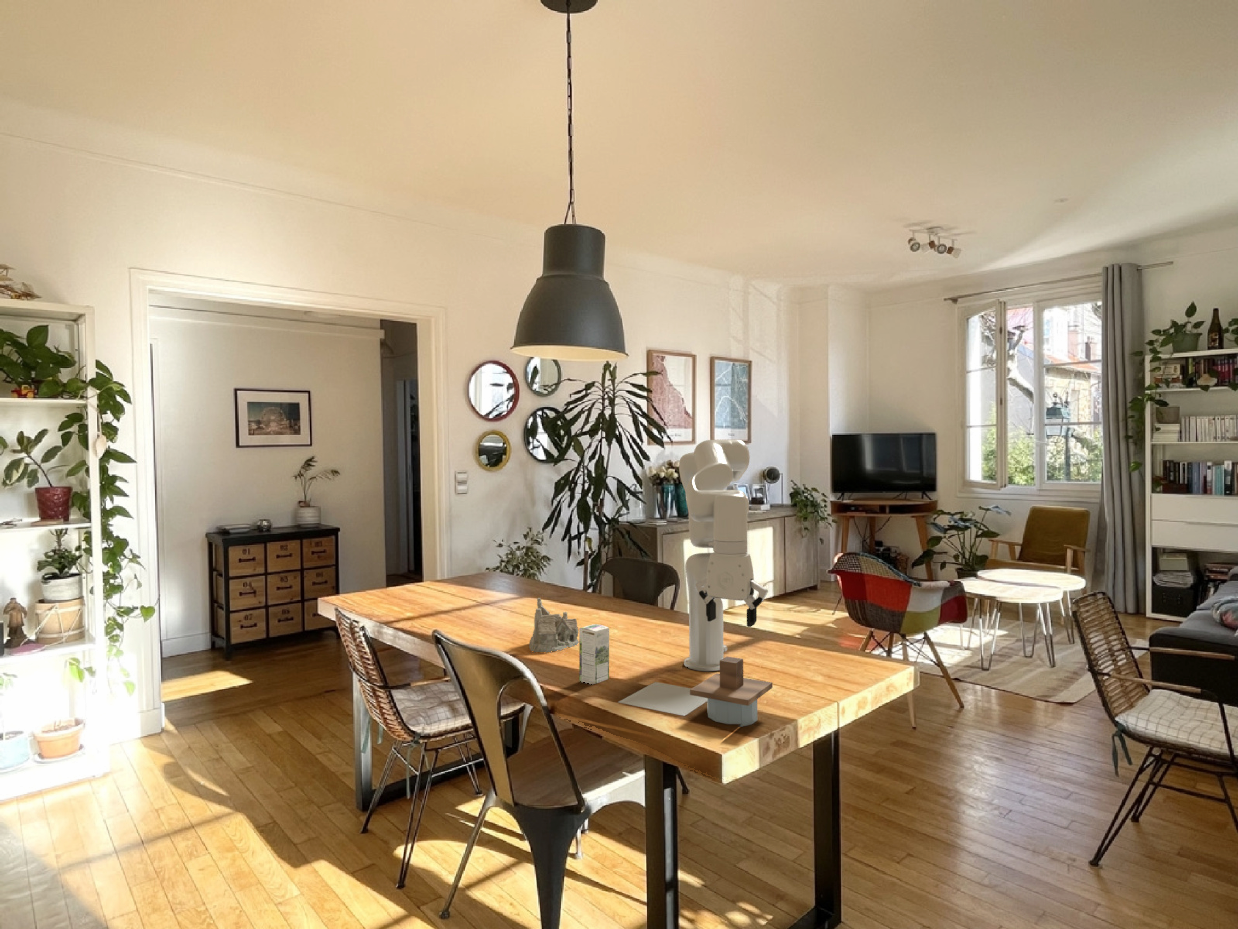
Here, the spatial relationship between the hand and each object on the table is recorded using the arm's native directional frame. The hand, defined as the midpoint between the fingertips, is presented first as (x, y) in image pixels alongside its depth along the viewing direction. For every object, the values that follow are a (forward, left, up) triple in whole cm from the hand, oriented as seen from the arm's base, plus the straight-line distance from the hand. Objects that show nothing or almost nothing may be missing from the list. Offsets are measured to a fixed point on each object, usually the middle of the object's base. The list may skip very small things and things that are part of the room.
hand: (731, 622), depth 170 cm
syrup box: (-6, -42, -22) cm, 47 cm away
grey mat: (-3, -18, -22) cm, 28 cm away
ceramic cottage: (-29, -73, -22) cm, 82 cm away
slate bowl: (0, 0, -22) cm, 22 cm away
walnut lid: (0, 0, -16) cm, 16 cm away
